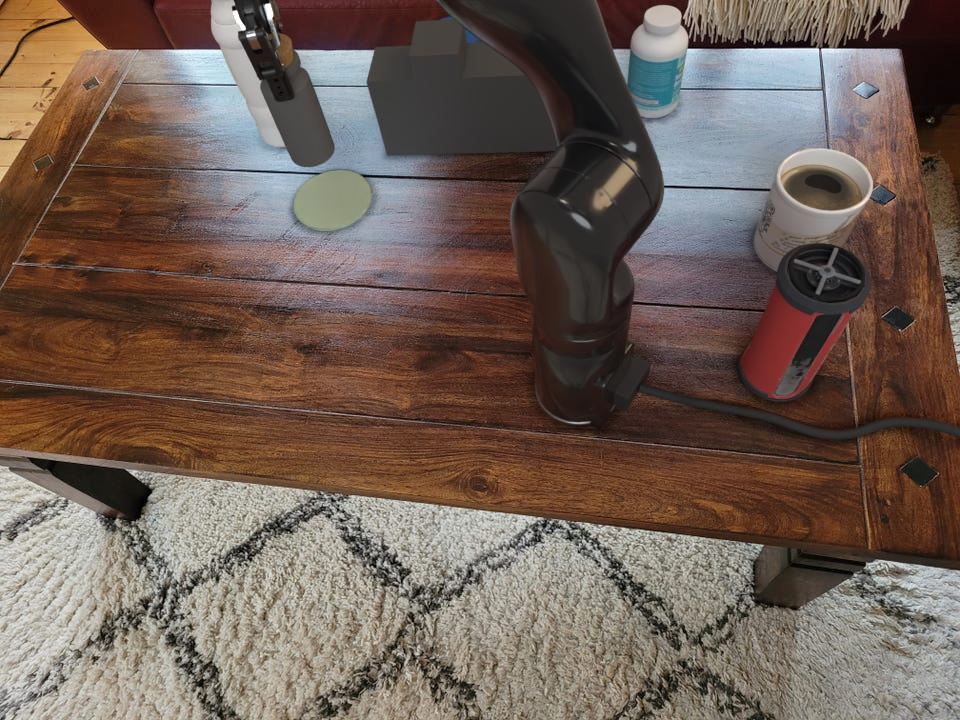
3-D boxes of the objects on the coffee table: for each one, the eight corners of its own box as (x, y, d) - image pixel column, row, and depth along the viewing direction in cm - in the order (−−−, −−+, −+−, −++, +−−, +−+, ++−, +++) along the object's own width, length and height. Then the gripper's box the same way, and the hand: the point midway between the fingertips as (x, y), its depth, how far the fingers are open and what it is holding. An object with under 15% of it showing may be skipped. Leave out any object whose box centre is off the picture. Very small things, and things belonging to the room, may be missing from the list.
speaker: (750, 332, 78) (796, 225, 62) (820, 359, 75) (886, 253, 60) (726, 386, 75) (768, 286, 59) (798, 415, 72) (861, 319, 57)
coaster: (387, 189, 96) (386, 186, 95) (336, 242, 91) (335, 239, 91) (329, 163, 100) (328, 160, 99) (278, 212, 95) (277, 209, 95)
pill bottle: (681, 119, 97) (697, 30, 85) (627, 122, 97) (636, 35, 86) (674, 84, 101) (688, -5, 89) (622, 88, 101) (630, 0, 90)
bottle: (283, 150, 89) (236, 44, 76) (323, 129, 90) (283, 22, 77) (302, 174, 86) (256, 70, 73) (343, 153, 87) (305, 46, 74)
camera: (563, 76, 104) (562, -27, 91) (561, 151, 96) (560, 49, 82) (402, 83, 107) (379, -16, 94) (387, 155, 99) (359, 58, 86)
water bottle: (317, 125, 104) (254, -41, 83) (287, 155, 101) (214, -9, 80) (283, 112, 107) (213, -53, 85) (253, 141, 104) (173, -22, 83)
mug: (731, 248, 84) (753, 182, 75) (784, 191, 88) (810, 121, 78) (811, 291, 80) (844, 227, 70) (862, 229, 84) (900, 160, 74)
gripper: (187, -101, 68) (253, 51, 83) (179, -23, 61) (253, 129, 75) (261, -117, 68) (314, 38, 83) (262, -41, 61) (320, 115, 75)
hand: (284, 80), depth 79 cm, fingers closed on bottle, 5 cm apart
